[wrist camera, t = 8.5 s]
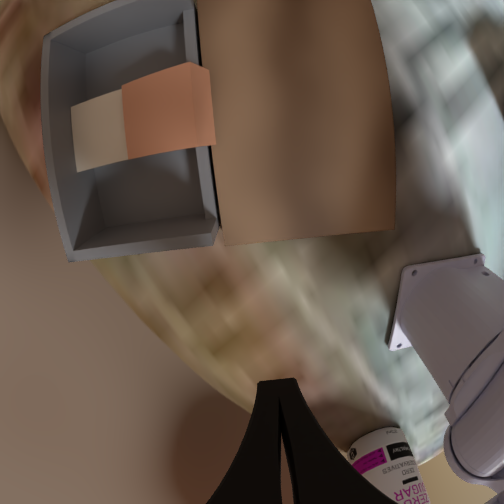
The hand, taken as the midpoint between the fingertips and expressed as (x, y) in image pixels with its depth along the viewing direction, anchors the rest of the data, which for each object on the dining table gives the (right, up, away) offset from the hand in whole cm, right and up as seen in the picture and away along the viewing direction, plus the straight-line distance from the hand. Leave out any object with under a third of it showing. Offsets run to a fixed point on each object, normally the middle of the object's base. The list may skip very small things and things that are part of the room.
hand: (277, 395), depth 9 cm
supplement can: (+16, -20, +19) cm, 31 cm away
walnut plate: (+2, +14, +5) cm, 15 cm away
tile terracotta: (-5, +13, +3) cm, 14 cm away
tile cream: (-9, +13, +5) cm, 16 cm away
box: (-8, +13, +5) cm, 16 cm away
